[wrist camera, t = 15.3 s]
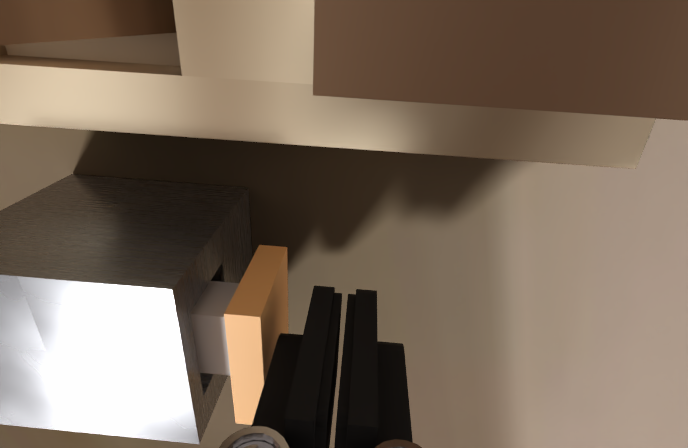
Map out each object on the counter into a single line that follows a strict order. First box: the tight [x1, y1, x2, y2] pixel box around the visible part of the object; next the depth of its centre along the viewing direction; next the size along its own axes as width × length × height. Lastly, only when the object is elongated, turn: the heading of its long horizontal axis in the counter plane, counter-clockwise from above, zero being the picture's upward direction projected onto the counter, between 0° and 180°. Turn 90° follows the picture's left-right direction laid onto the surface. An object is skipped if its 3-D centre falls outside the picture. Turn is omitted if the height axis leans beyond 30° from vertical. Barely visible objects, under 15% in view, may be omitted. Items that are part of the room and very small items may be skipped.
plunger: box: [191, 245, 288, 425], centre depth 11 cm, size 5×4×3 cm
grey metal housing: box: [0, 174, 253, 444], centre depth 12 cm, size 6×5×6 cm
